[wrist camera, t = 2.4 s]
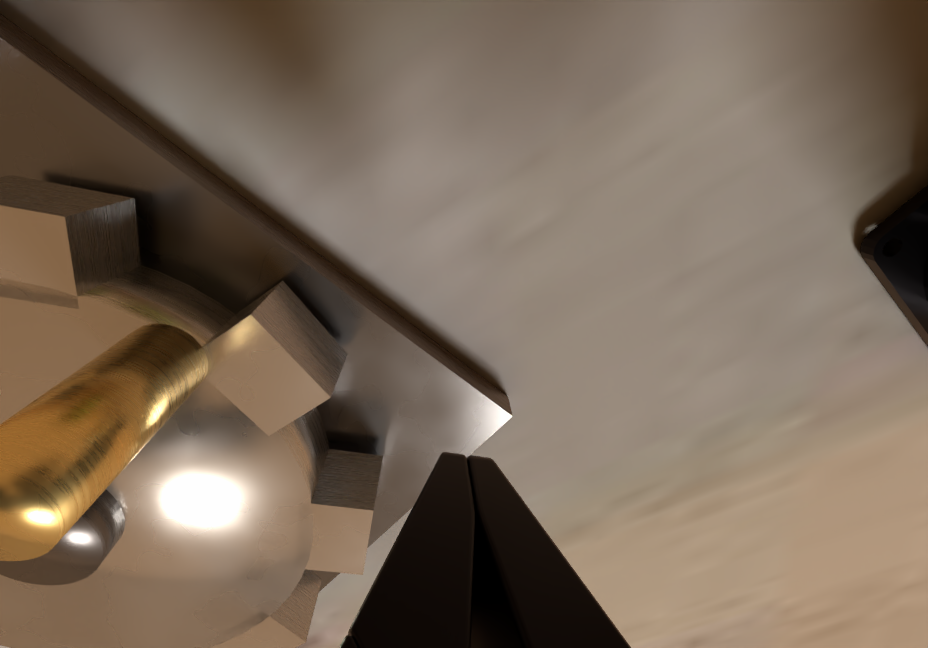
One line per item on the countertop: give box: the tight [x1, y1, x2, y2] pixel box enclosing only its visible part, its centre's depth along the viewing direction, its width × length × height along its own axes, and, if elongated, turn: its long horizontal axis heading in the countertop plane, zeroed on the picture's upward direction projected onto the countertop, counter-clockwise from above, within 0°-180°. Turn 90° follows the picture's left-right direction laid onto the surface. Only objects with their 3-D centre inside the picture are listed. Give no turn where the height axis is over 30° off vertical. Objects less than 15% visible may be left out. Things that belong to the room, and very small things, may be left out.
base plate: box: [0, 14, 512, 591], centre depth 13 cm, size 16×16×1 cm
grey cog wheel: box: [0, 175, 383, 648], centre depth 10 cm, size 15×15×6 cm
